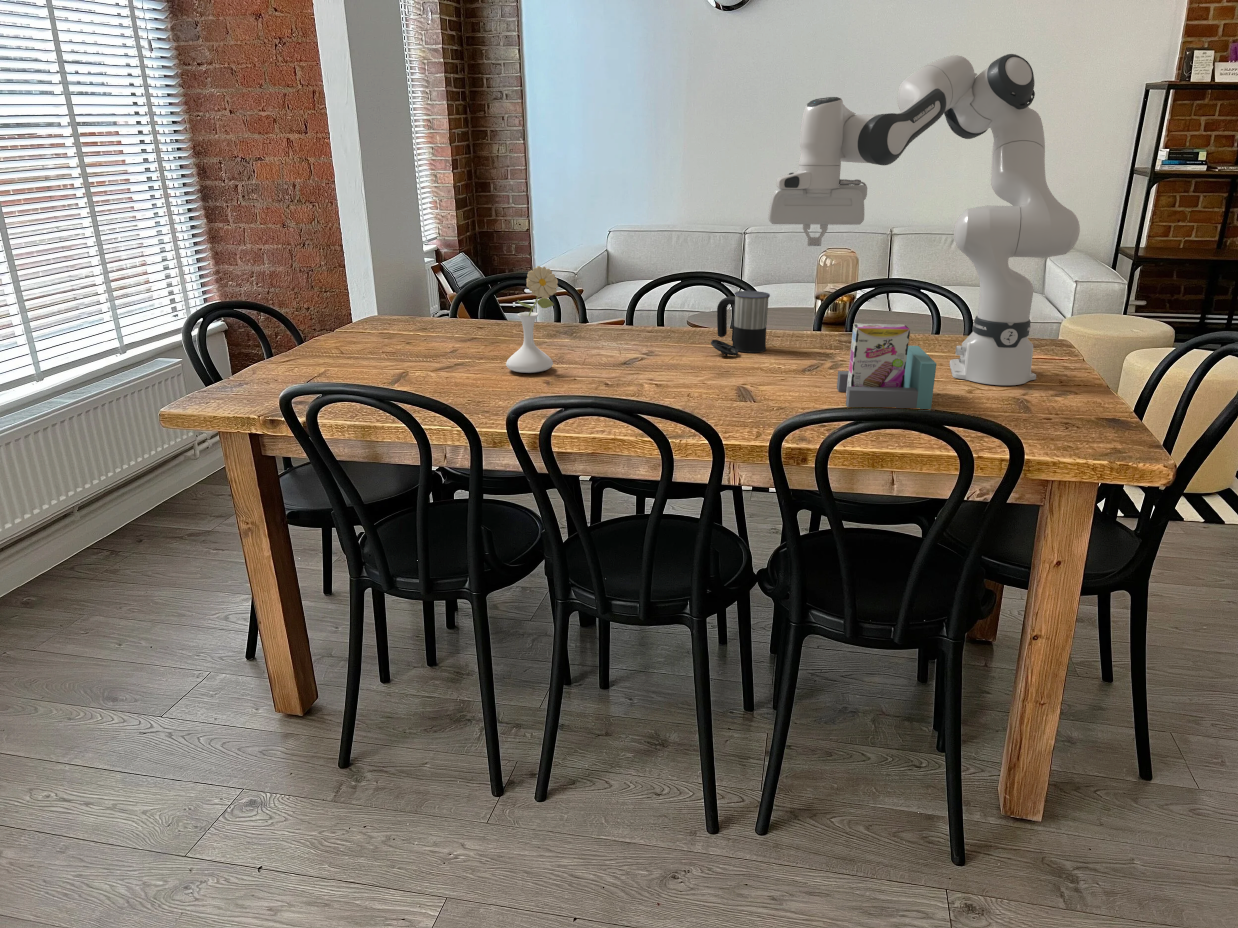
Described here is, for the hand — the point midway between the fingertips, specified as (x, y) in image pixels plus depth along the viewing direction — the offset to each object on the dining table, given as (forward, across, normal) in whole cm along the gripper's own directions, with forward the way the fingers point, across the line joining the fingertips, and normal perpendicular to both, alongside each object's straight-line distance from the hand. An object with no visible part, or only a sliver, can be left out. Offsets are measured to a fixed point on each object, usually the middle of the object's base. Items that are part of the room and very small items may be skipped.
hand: (813, 246), depth 200 cm
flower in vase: (+31, +64, -8) cm, 72 cm away
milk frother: (+31, +13, -31) cm, 46 cm away
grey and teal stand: (+31, -15, +11) cm, 36 cm away
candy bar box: (+31, -13, +12) cm, 36 cm away
